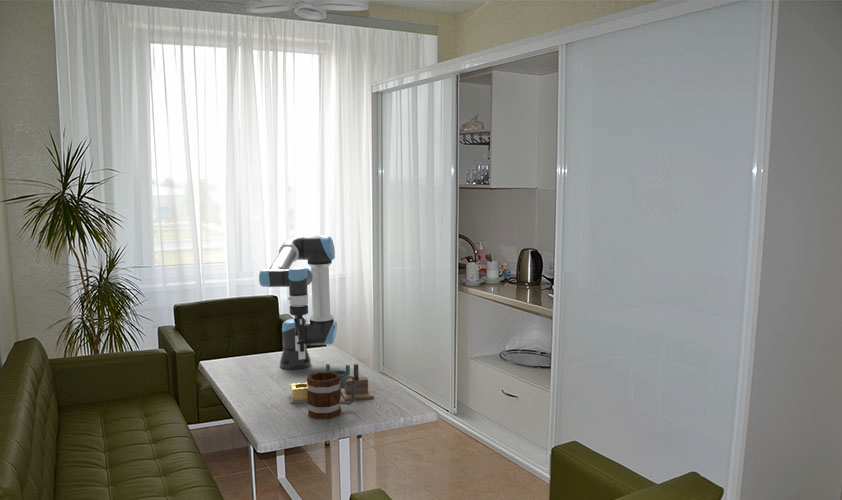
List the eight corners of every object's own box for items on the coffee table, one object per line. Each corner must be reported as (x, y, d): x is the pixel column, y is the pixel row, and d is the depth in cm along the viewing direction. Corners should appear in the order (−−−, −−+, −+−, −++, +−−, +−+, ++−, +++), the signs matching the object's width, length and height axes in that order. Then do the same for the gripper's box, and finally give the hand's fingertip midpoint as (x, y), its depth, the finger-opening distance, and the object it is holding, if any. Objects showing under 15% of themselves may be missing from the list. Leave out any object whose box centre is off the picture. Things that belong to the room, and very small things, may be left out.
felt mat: (288, 396, 281) (288, 394, 281) (312, 393, 284) (312, 392, 284) (290, 403, 272) (290, 402, 272) (315, 401, 275) (315, 400, 275)
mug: (312, 421, 252) (311, 383, 250) (303, 410, 264) (302, 374, 262) (361, 414, 259) (360, 376, 258) (350, 403, 272) (350, 367, 270)
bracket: (351, 384, 296) (351, 365, 296) (332, 388, 292) (331, 368, 291) (343, 379, 304) (342, 360, 303) (324, 383, 300) (324, 363, 299)
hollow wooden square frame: (291, 395, 281) (290, 383, 280) (310, 393, 283) (309, 382, 282) (292, 401, 273) (292, 389, 273) (312, 399, 275) (312, 387, 275)
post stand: (340, 391, 287) (339, 361, 286) (367, 388, 291) (366, 359, 289) (345, 401, 274) (344, 370, 273) (373, 398, 277) (373, 368, 276)
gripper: (287, 299, 285) (288, 347, 287) (292, 311, 261) (294, 363, 264) (304, 298, 287) (306, 346, 289) (311, 310, 263) (312, 361, 266)
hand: (300, 354), depth 276 cm, fingers open, 13 cm apart
